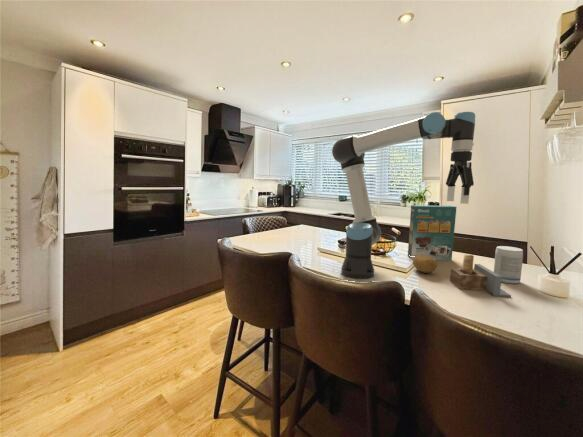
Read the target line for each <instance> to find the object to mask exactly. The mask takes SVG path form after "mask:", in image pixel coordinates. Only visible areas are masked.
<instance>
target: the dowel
mask: <svg viewBox="0 0 583 437" xmlns="http://www.w3.org/2000/svg"><path fill="white" fill-rule="evenodd" d="M474 257H475V256H474V255H473V254H468V253H467V254H463V260H462V269H463V270H462V272H463V273H464V274H472V270H473V269H474V268H473V267H474Z"/></svg>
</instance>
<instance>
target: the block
mask: <svg viewBox="0 0 583 437" xmlns="http://www.w3.org/2000/svg"><path fill="white" fill-rule="evenodd" d="M462 270H463V268H457V267H451V268H450V274H449V275H450V276H449V282H450V283H452V284H453V285H454V286H455V287H456V288H457V289H459V290H467V291H468V290H469V291H483V292H484V291H485V292H487V291H486V285H487V276H486V275H484V274H483V273H481V272H479V271H478V270H476V269H474V268H473V270H472V274H464V273H463V272H462Z"/></svg>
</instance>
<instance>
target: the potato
mask: <svg viewBox="0 0 583 437" xmlns="http://www.w3.org/2000/svg"><path fill="white" fill-rule="evenodd" d="M412 264H413V266H414V268H415V269H416V270H418V271H419V272H421V273H425V274H431V273H433V272H434V271H436V269H437V266H438V262H437V260H434V259H433V258H432V257H429V256H426V255H416V256H415V257H414V258H413V259H412Z"/></svg>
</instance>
